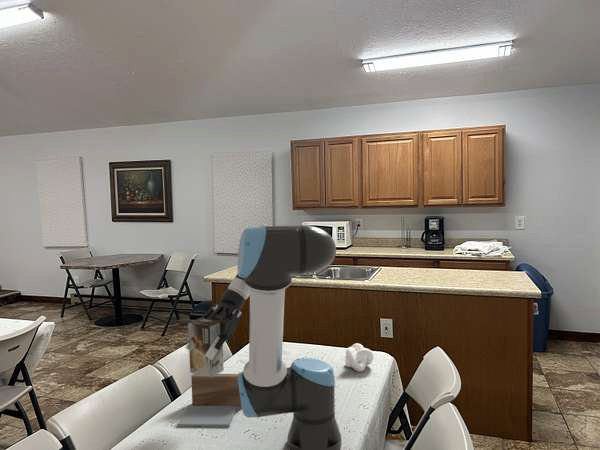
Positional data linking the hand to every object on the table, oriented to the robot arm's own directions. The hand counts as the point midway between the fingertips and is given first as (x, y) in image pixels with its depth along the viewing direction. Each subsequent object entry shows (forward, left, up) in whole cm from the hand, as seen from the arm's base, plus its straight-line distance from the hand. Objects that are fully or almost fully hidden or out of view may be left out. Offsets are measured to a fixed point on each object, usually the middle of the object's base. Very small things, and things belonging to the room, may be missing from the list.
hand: (198, 353), depth 129 cm
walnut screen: (+11, -4, -21) cm, 25 cm away
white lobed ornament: (+41, -53, -22) cm, 70 cm away
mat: (+2, -2, -21) cm, 22 cm away
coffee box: (+2, -2, -7) cm, 7 cm away
